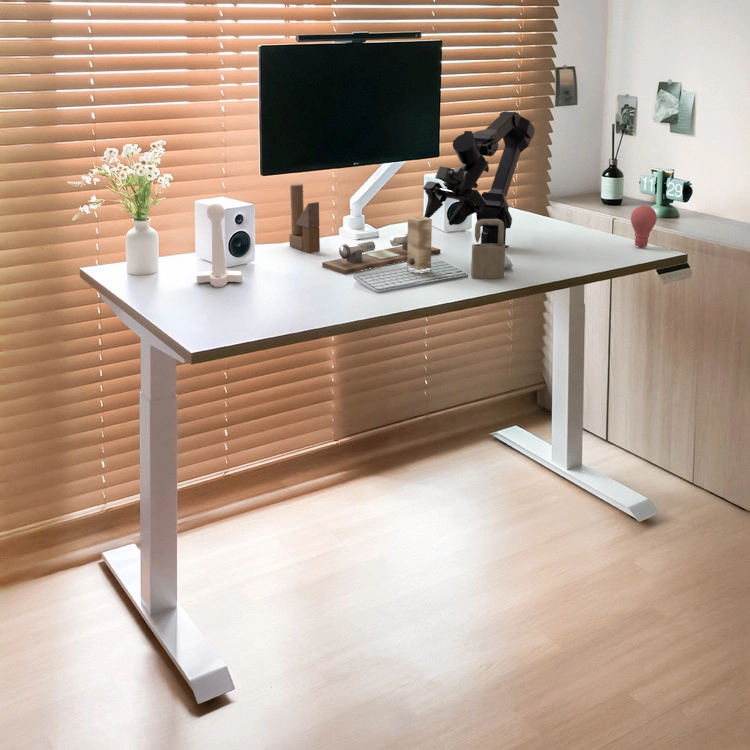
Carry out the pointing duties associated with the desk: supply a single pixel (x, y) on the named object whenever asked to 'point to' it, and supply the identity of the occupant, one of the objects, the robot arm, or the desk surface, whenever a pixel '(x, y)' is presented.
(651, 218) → the light bulb
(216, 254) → the joystick
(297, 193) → the wooden block
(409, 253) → the tan wood post
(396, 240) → the shafts
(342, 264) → the base board
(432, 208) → the robot arm
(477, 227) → the padlock
